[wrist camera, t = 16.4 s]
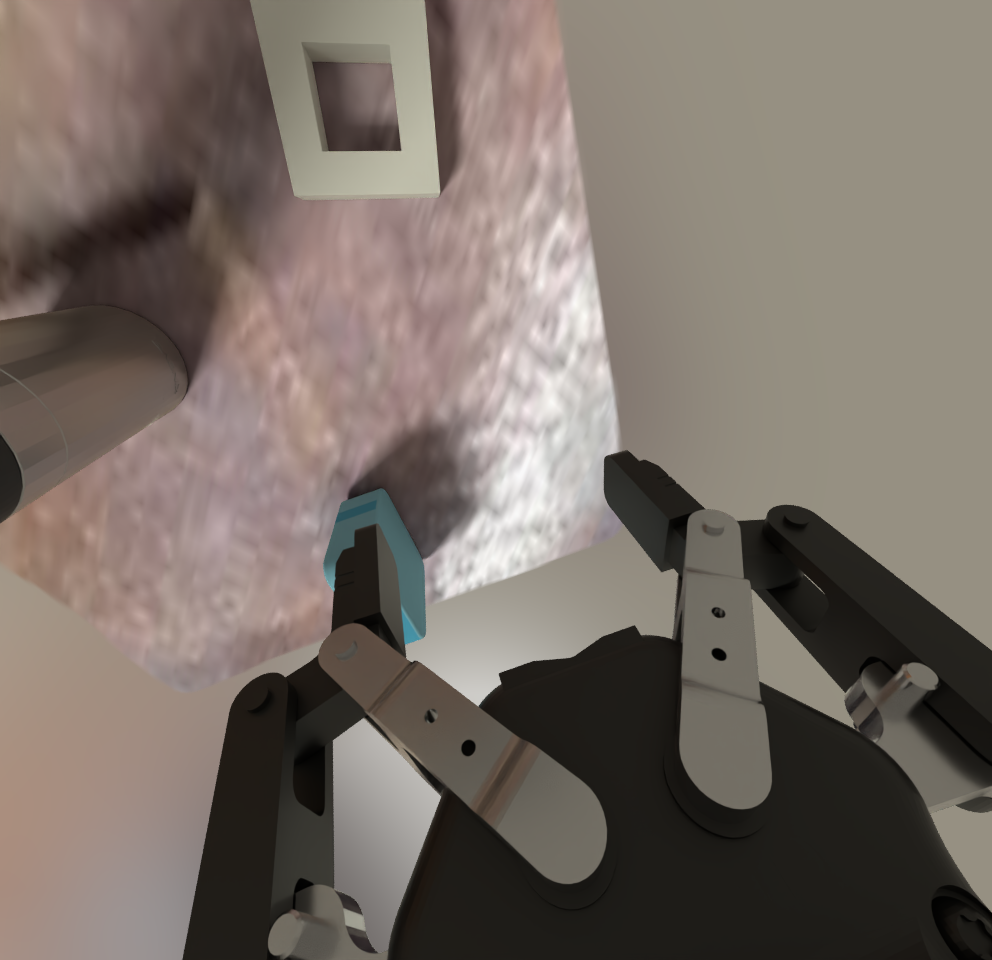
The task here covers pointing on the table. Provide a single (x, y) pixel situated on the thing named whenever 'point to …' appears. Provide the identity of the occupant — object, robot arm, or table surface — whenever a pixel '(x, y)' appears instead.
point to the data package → (405, 553)
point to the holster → (350, 39)
